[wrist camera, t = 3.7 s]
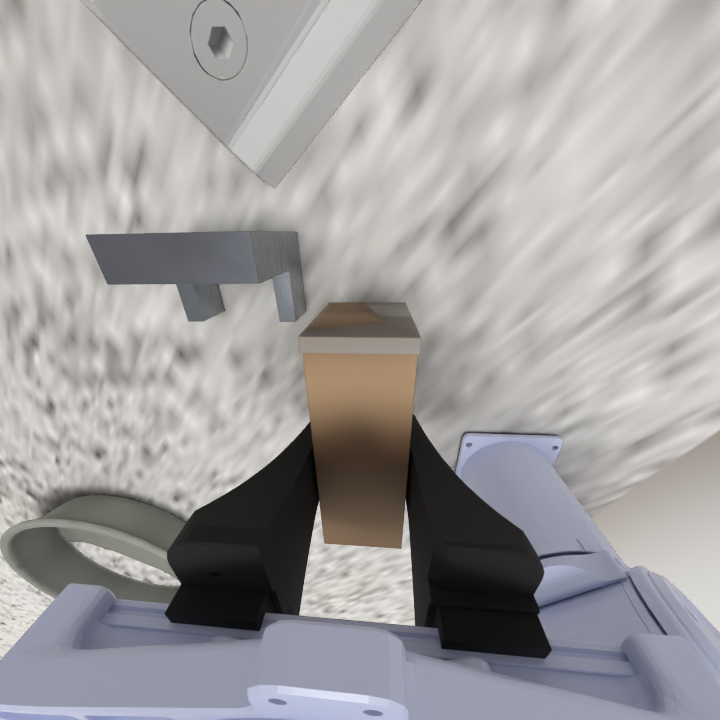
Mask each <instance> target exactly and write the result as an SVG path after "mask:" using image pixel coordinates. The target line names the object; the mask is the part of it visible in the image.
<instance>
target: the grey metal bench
mask: <svg viewBox="0 0 720 720" xmlns="http://www.w3.org/2000/svg"><path fill="white" fill-rule="evenodd" d="M86 237H87V239H88V242H89V244H90V246H91V248H92V251H93V253H94V255H95V257H96V260H97V262H98V264H99V266H100V269H101V271H102V273H103V275H104V278H105V280H106V282H107V284H176V285H177V288H178V291H179V294H180V297H181V300H182V303H183V306H184V309H185V312H186V315H187V318H188V321H205V320H207V319H209V318H211V317H213V316H215V315H217V314H219V313H221V312H223V311H225V310H224V306H223V303H222V299H221V295H220V291H219V287H218V284H241V283H261V282H264V281H266V280H268V279H271V278H273V283H274V289H275V295H276V301H277V307H278V313H279V319H280V322H296V321H297V320H298V319H299V318H300V317H301V315H302V314H303V313H304V312H305V311H306V307H305V298H304V290H303V281H302V272H301V264H300V255H299V246H298V237H297V232H269V231H235V232H189V233H143V234H97V235H86Z"/></svg>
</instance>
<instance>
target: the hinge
mask: <svg viewBox="0 0 720 720" xmlns="http://www.w3.org/2000/svg"><path fill="white" fill-rule="evenodd" d="M80 1H81V2H82V3H83V4H84V5H85V6H86V7H87V8H88V9H89V10H90V11H91V12H92V13H93V14H94V15H95V16H96V17H97V18H98V19H99V20H100V21H101V22H102V23H103V24H104V25H105V26H106V27H107V28H108V29H109V30H110V31H111V32H112V33H113V34H114V35H115V36H116V37H117V38H118V39H119V40H120V41H121V42H122V43H123V44H124V45H125V47H126V48H127V49H128V50H129V51H130V52H131V53H132V54H133V55H134V56H135V57H136V58H137V59H138V60H139V61H140V62H141V63H142V64H143V65H144V66H145V67H146V68H147V69H148V70H149V71H150V72H151V73H152V74H153V75H154V76H155V77H156V78H157V79H158V80H159V81H160V82H161V83H162V84H163V85H164V86H165V87H166V88H167V89H168V90H169V91H170V92H171V93H172V94H173V95H174V96H175V97H176V98H177V99H178V100H179V101H180V102H181V103H182V104H183V105H184V106H185V107H186V108H187V109H188V110H189V111H190V112H191V113H192V114H193V115H194V116H195V117H196V118H197V119H198V120H199V121H200V122H201V123H202V124H203V125H204V126H205V127H206V128H207V129H208V130H209V131H210V132H211V133H212V134H213V135H214V136H215V137H216V138H217V139H218V140H219V141H220V142H221V143H222V144H223V145H224V146H225V147H226V148H227V149H228V150H229V151H230V152H232V153H233V154H234V155H235V156H236V157H237V158H238V159H239V160H241V161H242V162H243V163H244V164H245V165H246V166H247V167H248V168H249V169H251V170H252V171H253V172H254V173H255V174H256V175H257V176H258V177H260V178H261V179H263V180H264V181H265V182H267V183H268V184H269V185H271V186H272V187H274V188H276V186H277V185H278V184H279V183H280V181H281V180H282V179H283V177H284V176H285V175H286V174H287V172H288V171H289V170H290V168H291V167H292V166H293V165H294V163H295V162H296V161H297V160H298V158H299V157H300V156H301V154H302V153H303V152H304V151H305V149H306V148H307V147H308V145H309V144H310V143H311V142H312V140H313V139H314V138H315V136H316V135H317V134H318V133H319V131H320V130H321V129H322V127H323V126H324V125H325V124H326V122H327V121H328V120H329V119H330V117H331V116H332V115H333V113H334V112H335V111H336V110H337V108H338V107H339V106H340V104H341V103H342V102H343V101H344V99H345V98H346V97H347V95H348V94H349V93H350V92H351V90H352V89H353V88H354V87H355V85H356V84H357V83H358V81H359V80H360V79H361V78H362V76H363V75H364V74H365V72H366V71H367V70H368V69H369V67H370V66H371V65H372V63H373V62H374V61H375V60H376V58H377V57H378V56H379V54H380V53H381V52H382V51H383V49H384V48H385V47H386V46H387V44H388V43H389V42H390V40H391V39H392V38H393V37H394V35H395V34H396V33H397V31H398V30H399V29H400V28H401V26H402V25H403V24H404V22H405V21H406V20H407V19H408V17H409V16H410V15H411V13H412V12H413V11H414V10H415V8H416V7H417V6H418V5H419V3H420V2H421V1H422V0H80Z"/></svg>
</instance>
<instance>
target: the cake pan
mask: <svg viewBox="0 0 720 720" xmlns="http://www.w3.org/2000/svg"><path fill="white" fill-rule="evenodd" d="M185 524H186V522H185V521H183V520H181V519H180V518H178V517H176V516H174V515H173V514H170V513H168V512H166V511H164V510H162V509H159V508H157V507H155V506H152V505H149V504H146V503H143V502H140V501H136V500H132V499H128V498H123V497H117V496H109V495H87V496H81V497H77V498H74V499H71V500H69V501H67V502H65V503H64V504H62V505H61V506H59V507H57V508H56V509H54V510H52V511H51V512H49V513H47V514H46V515H44V516H43V517H41V518H39V519H34V520H28V521H24V522H21V523H19V524H17V525H14V526H12V527H11V528H9V529H8V530H7V531H6V532H5V533H4V534H3V535H2V537H1V540H0V549H1V552H2V555H3V557H4V559H5V560H6V562H7V563H8V564H9V565H10V567H11V568H12V569H13V570H14V571H15V572H16V573H17V574H19V575H20V576H21V577H22V578H24V579H25V580H26V581H27V582H29V583H30V584H32V585H33V586H35V587H36V588H38V589H39V590H41V591H43V592H44V593H46V594H48V595H50V596H52V597H53V598H55V599H56V598H57V597H58V595H59V594H60V593H61V592H62V591H63V590H64V589H65V588H66V586H67V585H69V584H71V583H75V584H87V585H98V586H103V587H105V588H108V589H109V590H110V591H112V593H113V594H114V595H115V597H116V599H122V600H132V601H143V602H154V603H165V604H170V603H171V601H172V599H173V598H174V596H175V594H176V592H177V590H178V589H179V587H180V586H165V585H157V584H151V583H147V582H142V581H138V580H135V579H132V578H129V577H126V576H123V575H120V574H118V573H115V572H113V571H111V570H109V569H107V568H105V567H103V566H101V565H99V564H97V563H96V562H94V561H92V560H91V559H89V558H88V557H86V556H85V555H83V554H82V553H81V552H80V551H79V550H77V549H76V548H75V547H74V546H73V545H72V544H71V543H70V542H86V543H90V544H94V545H96V546H99V547H102V548H104V549H107V550H113V551H115V552H118V553H120V554H123V555H125V556H128V557H130V558H133V559H135V560H138V561H140V562H143V563H145V564H148V565H150V566H153V567H155V568H158V569H160V570H162V571H164V572H165V573H168V574H170V575H171V576H173V577H174V578H176V579H177V580H179V579H178V578H177V576H176V575H175V573H174V572H173V570H172V568H171V567H170V565H169V563H168V561H167V551H168V549H169V548H170V546H171V545H172V543H173V542H174V540H175V539H176V537H177V536H178V534H179V533H180V531H181V530H182V528H183V527H184V525H185Z"/></svg>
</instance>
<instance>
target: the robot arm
mask: <svg viewBox="0 0 720 720" xmlns="http://www.w3.org/2000/svg"><path fill="white" fill-rule="evenodd" d="M467 443H469V444H467ZM562 444H563V440H562V439H561V438H560V437H559V436H543V435H512V434H481V433H467V434H465V435H464V436H463V438H462V443H461V448H460V453H459V457H458V462H457V467H456V472H454V471H453V470H452V469H451V468H450V467H449V466H448V464H447V463H446V462H445V461H444V460H443V458H442V457H441V456H440V454H439V453H438V452H437V450H436V449H435V448H434V446H433V445H432V443H431V442H430V440H429V439H428V437H427V436H426V434H425V433H424V431H423V429H422V428H421V426H420V424H419V423H418V421H417V419H416V417H415V415H414V414H412V426H411V438H410V450H409V462H408V474H407V486H406V504H407V510H408V519H409V532H410V546H411V561H412V576H413V593H414V611H415V626H407V625H396V624H385V623H374V622H363V621H352V620H341V619H330V618H319V617H308V616H299V612H300V605H301V598H302V591H303V585H304V579H305V572H306V566H307V560H308V554H309V548H310V543H311V537H312V531H313V526H314V521H315V515H316V511H317V506H318V502H319V492H318V484H317V475H316V466H315V458H314V449H313V440H312V432H311V423H310V422H309V424H308V425H307V426H306V427H305V428H304V430H303V431H302V432H301V433H300V434H299V435H298V436H297V437H296V438H295V440H294V441H293V442H292V443H291V444H290V445H289V446H288V447H287V448H286V449H285V450H284V451H283V452H282V453H281V454H279V455H278V456H277V457H276V458H275V459H274V460H273V461H272V462H270V463H269V464H268V465H267V466H266V467H264V468H263V469H262V470H260V471H259V472H258V473H256V474H255V475H254V476H252V477H251V478H250V479H248V480H247V481H245V482H244V483H242V484H241V485H239V486H238V487H236V488H235V489H233V490H231V491H230V492H228V493H227V494H225V495H223V496H221V497H220V498H218V499H216V500H214V501H212V502H211V503H209V504H207V505H205V506H203V507H201V508H200V509H198V510H196V511H195V512H194V513H193V514H192V516H191V517H190V518H189V520H188V521H187V522H186V524H185V525H184V527H183V528H182V530H181V531H180V533H179V534H178V536H177V537H176V539H175V540H174V542H173V543H172V545H171V546H170V548H169V549H168V551H167V561H168V563H169V565H170V567H171V568H172V570H173V572H174V573H175V575H176V576H177V578H178V579H179V581H180V583H181V585H180V587H179V589H178V590H177V592H176V594H175V596H174V598H173V599H172V601H171V603H170V604H165V603H154V602H143V601H132V600H122V599H116V597H115V595H114V594H113V593H112V591H110V590H109V589H108V588H105V587H103V586H98V585H87V584H75V583H71V584H69V585H67V586H66V588H65V589H64V590H63V591H62V592H61V593H60V594H59V595H58V597H57V598H56V599H55V600H54V601H53V602H52V603H51V604H50V605H49V607H48V608H47V609H46V610H45V611H44V612H43V613H42V614H41V616H40V617H39V618H38V619H37V620H36V621H35V622H34V623H33V625H32V626H31V627H30V628H29V629H28V630H27V631H26V632H25V633H24V635H23V636H22V637H21V638H20V639H19V640H18V641H17V642H16V644H15V645H14V646H13V647H12V648H11V649H10V650H9V651H8V653H7V654H6V655H5V656H4V657H3V658H2V659H1V660H0V720H720V633H719V632H718V630H717V629H716V628H715V627H714V626H713V625H712V624H711V623H710V622H709V621H708V620H707V618H706V617H705V616H704V615H703V614H702V613H701V612H700V611H699V610H698V609H697V608H696V607H695V606H694V604H693V603H692V602H691V601H690V600H689V599H688V598H687V597H686V596H685V595H684V594H683V593H682V592H681V591H680V590H679V589H678V588H677V587H676V586H675V585H674V584H673V583H671V582H670V581H669V580H668V579H667V578H665V577H663V576H661V575H659V574H656V573H654V572H651V571H649V570H648V569H647V568H645V567H643V566H636V567H634V568H629V567H628V566H626V564H625V563H624V562H623V561H622V559H621V558H620V557H619V555H618V554H617V553H616V551H615V550H614V549H613V547H612V546H611V545H610V543H609V542H608V541H607V539H606V538H605V537H604V535H603V534H602V533H601V531H600V530H599V528H598V527H597V526H596V524H595V523H594V522H593V520H592V519H591V518H590V516H589V515H588V514H587V512H586V511H585V510H584V508H583V507H582V505H581V504H580V503H579V501H578V500H577V499H576V497H575V496H574V495H573V493H572V492H571V491H570V489H569V488H568V487H567V485H566V484H565V483H564V481H563V480H562V479H561V477H560V476H559V475H558V473H557V472H556V470H555V469H554V468H553V465H554V462H555V460H556V458H557V456H558V453H559V451H560V449H561V447H562Z"/></svg>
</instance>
